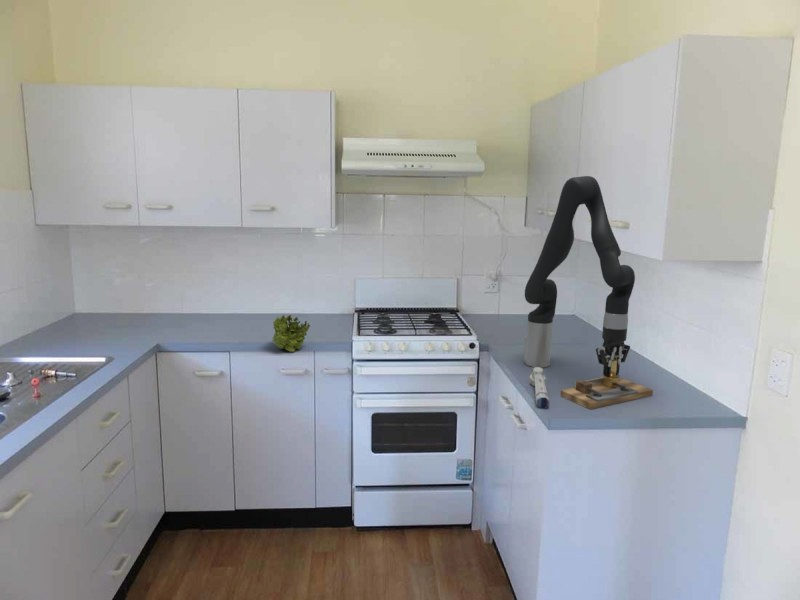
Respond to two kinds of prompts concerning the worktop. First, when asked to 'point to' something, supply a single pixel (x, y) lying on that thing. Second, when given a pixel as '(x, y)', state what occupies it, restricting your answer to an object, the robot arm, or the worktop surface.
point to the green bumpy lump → (289, 333)
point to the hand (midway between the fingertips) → (610, 375)
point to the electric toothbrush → (539, 387)
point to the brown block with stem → (585, 387)
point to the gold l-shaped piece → (612, 376)
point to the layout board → (606, 393)
